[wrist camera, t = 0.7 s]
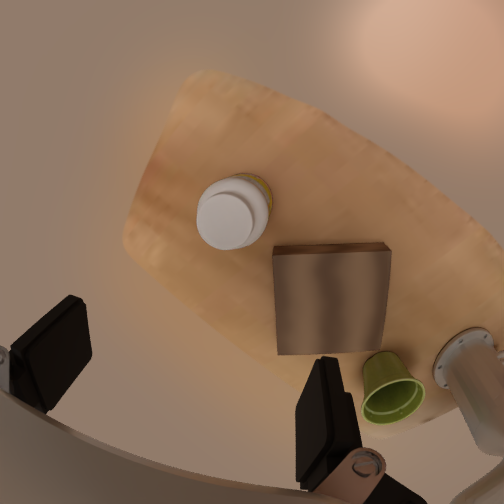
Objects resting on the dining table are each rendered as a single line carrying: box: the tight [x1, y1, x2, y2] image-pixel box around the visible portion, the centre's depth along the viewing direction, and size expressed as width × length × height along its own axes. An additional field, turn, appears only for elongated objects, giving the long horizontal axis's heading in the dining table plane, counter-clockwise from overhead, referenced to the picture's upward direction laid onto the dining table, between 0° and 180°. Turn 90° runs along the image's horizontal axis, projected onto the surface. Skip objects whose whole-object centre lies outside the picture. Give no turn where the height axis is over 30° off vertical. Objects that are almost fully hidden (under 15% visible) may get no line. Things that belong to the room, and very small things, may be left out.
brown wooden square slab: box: [272, 242, 392, 355], centre depth 37 cm, size 14×14×4 cm
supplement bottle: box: [196, 173, 273, 250], centre depth 30 cm, size 7×7×13 cm
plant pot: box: [361, 352, 425, 425], centre depth 37 cm, size 9×9×9 cm
